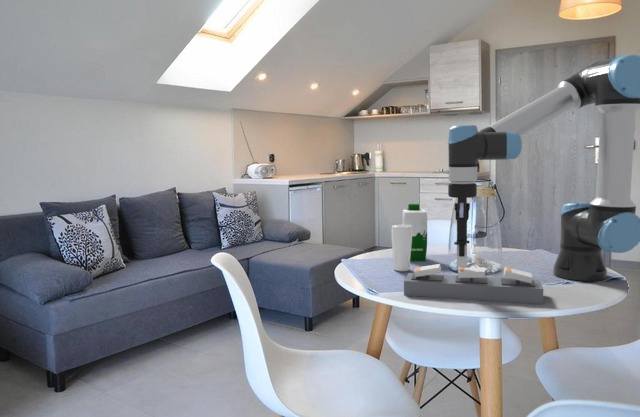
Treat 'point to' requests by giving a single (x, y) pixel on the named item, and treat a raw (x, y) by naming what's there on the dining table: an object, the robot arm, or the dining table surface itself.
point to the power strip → (474, 288)
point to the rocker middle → (471, 272)
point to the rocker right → (518, 275)
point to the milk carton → (417, 231)
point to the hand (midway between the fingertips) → (461, 267)
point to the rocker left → (427, 270)
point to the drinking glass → (401, 246)
